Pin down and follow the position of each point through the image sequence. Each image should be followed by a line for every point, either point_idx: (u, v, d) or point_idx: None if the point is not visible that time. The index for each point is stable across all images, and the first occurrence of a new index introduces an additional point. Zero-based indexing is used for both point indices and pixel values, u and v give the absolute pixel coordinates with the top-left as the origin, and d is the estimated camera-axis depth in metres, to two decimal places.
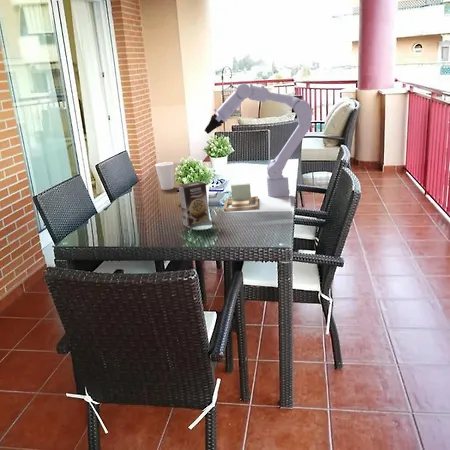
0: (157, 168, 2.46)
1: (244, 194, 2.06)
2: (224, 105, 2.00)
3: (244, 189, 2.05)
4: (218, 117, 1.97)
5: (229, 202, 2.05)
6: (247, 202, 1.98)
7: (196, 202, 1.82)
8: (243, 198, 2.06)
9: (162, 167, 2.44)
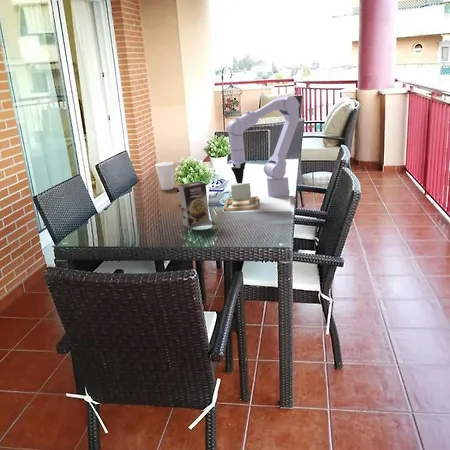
0: (157, 168, 2.46)
1: (244, 194, 2.06)
2: (232, 151, 1.99)
3: (244, 189, 2.05)
4: (236, 165, 1.95)
5: (229, 202, 2.05)
6: (247, 202, 1.98)
7: (196, 202, 1.82)
8: (243, 198, 2.06)
9: (162, 167, 2.44)
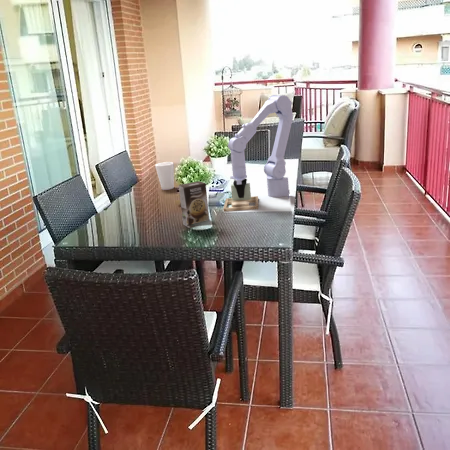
0: (157, 168, 2.46)
1: (244, 194, 2.06)
2: (234, 168, 2.01)
3: None
4: (238, 181, 1.98)
5: (229, 202, 2.05)
6: (247, 202, 1.98)
7: (196, 202, 1.82)
8: (243, 198, 2.06)
9: (162, 167, 2.44)
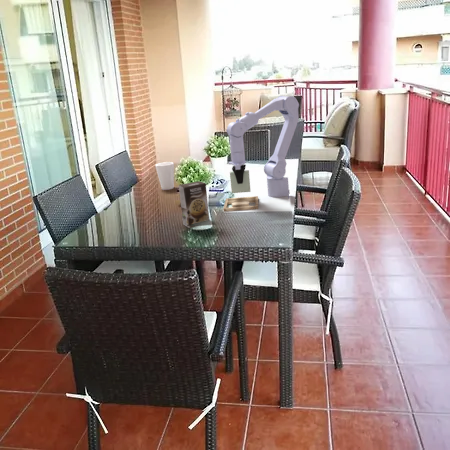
0: (157, 168, 2.46)
1: (243, 181, 2.04)
2: (232, 153, 1.99)
3: (243, 176, 2.03)
4: (236, 166, 1.96)
5: (229, 202, 2.05)
6: (247, 202, 1.97)
7: (196, 202, 1.82)
8: (242, 185, 2.04)
9: (162, 167, 2.44)
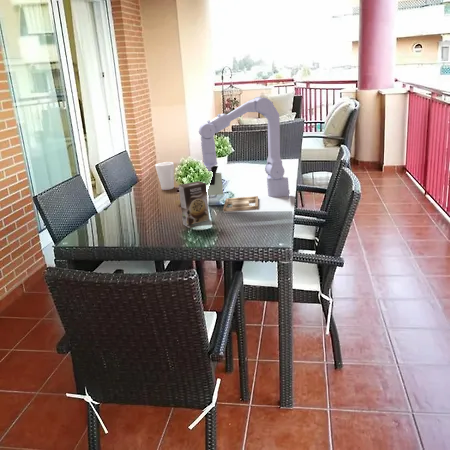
0: (157, 168, 2.46)
1: (215, 183, 2.05)
2: (204, 154, 2.00)
3: (215, 178, 2.04)
4: (207, 168, 1.97)
5: (229, 202, 2.05)
6: (247, 202, 1.98)
7: (196, 202, 1.82)
8: (214, 188, 2.06)
9: (162, 167, 2.44)
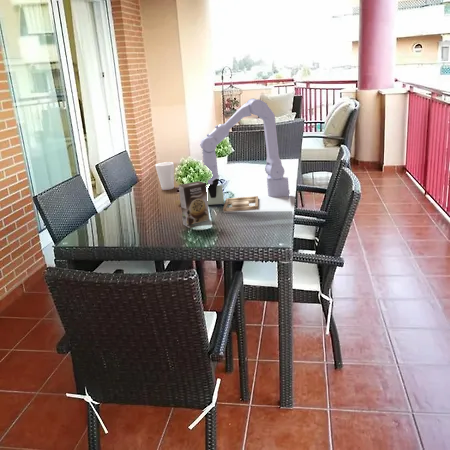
0: (157, 168, 2.46)
1: (216, 196, 2.07)
2: None
3: (216, 191, 2.06)
4: (209, 181, 1.98)
5: (229, 202, 2.05)
6: (247, 202, 1.97)
7: (196, 202, 1.82)
8: (215, 200, 2.07)
9: (162, 167, 2.44)
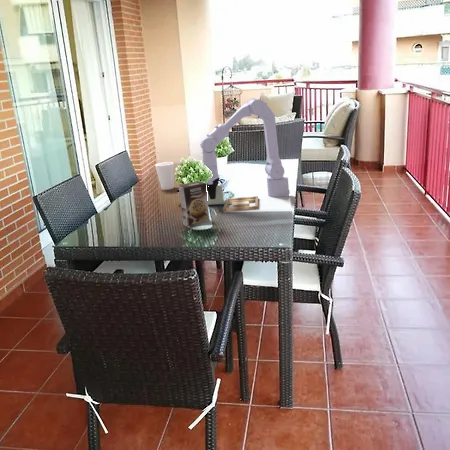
0: (157, 168, 2.46)
1: (216, 196, 2.07)
2: None
3: (216, 191, 2.06)
4: (209, 181, 1.98)
5: (229, 202, 2.05)
6: (247, 202, 1.97)
7: (196, 202, 1.82)
8: (215, 200, 2.07)
9: (162, 167, 2.44)
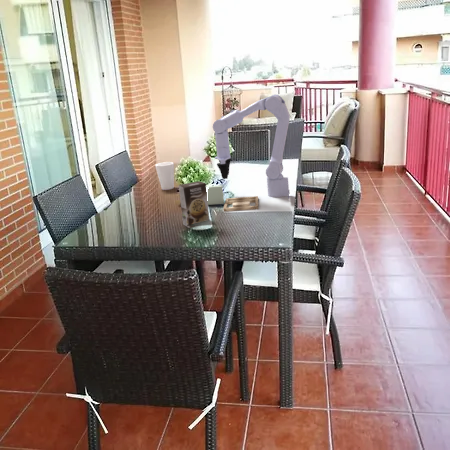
0: (157, 168, 2.46)
1: (216, 196, 2.07)
2: (218, 148, 2.10)
3: (216, 191, 2.06)
4: (221, 161, 2.07)
5: (229, 202, 2.05)
6: (248, 202, 1.97)
7: (196, 202, 1.82)
8: (215, 200, 2.07)
9: (162, 167, 2.44)
